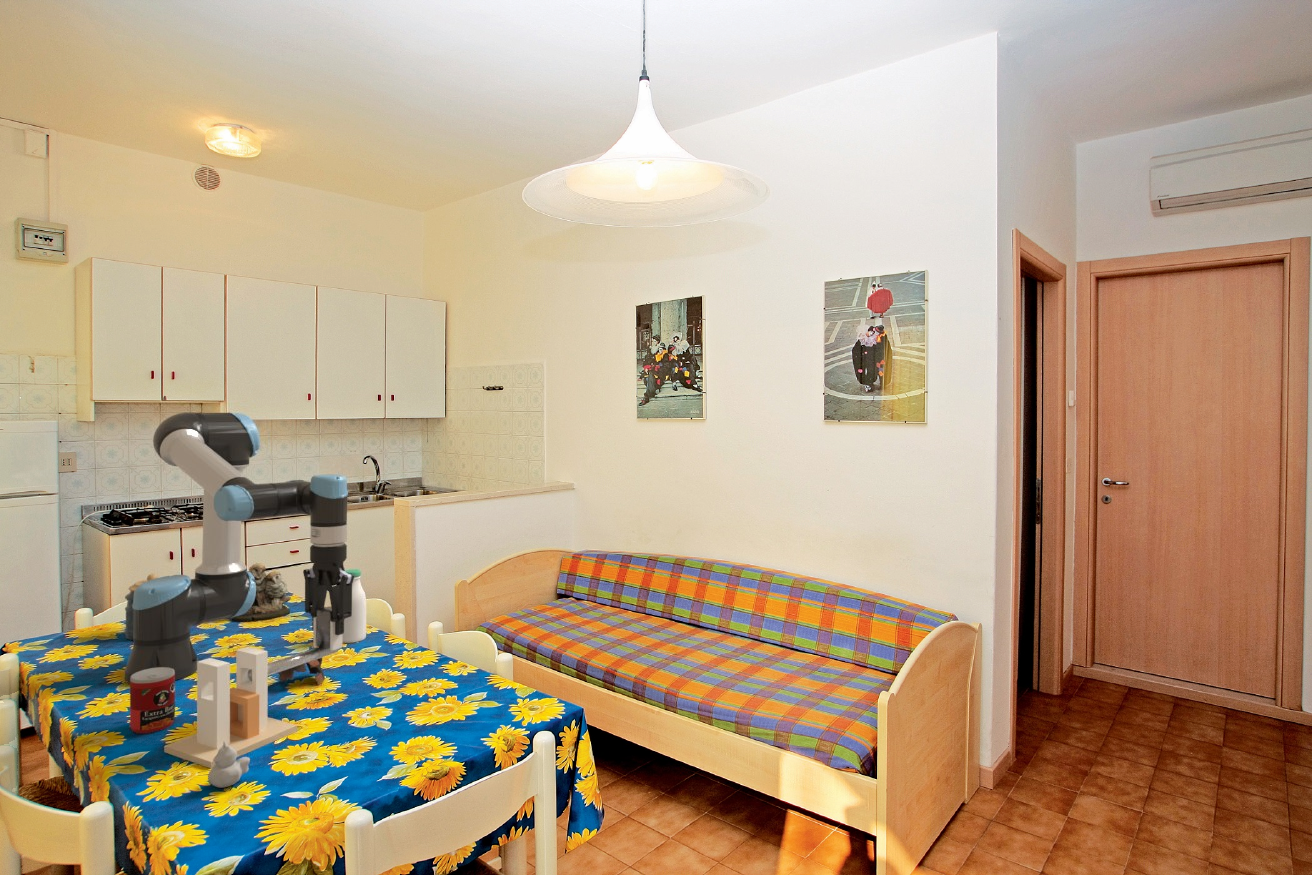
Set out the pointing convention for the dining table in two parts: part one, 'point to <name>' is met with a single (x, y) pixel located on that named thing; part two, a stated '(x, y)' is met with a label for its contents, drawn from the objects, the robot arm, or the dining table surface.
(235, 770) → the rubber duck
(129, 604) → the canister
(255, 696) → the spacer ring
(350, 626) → the milk bottle
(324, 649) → the shaft
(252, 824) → the dining table surface
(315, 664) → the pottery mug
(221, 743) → the wooden twin post stand
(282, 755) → the dining table surface
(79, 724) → the dining table surface
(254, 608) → the owl figurine
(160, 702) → the canned food
